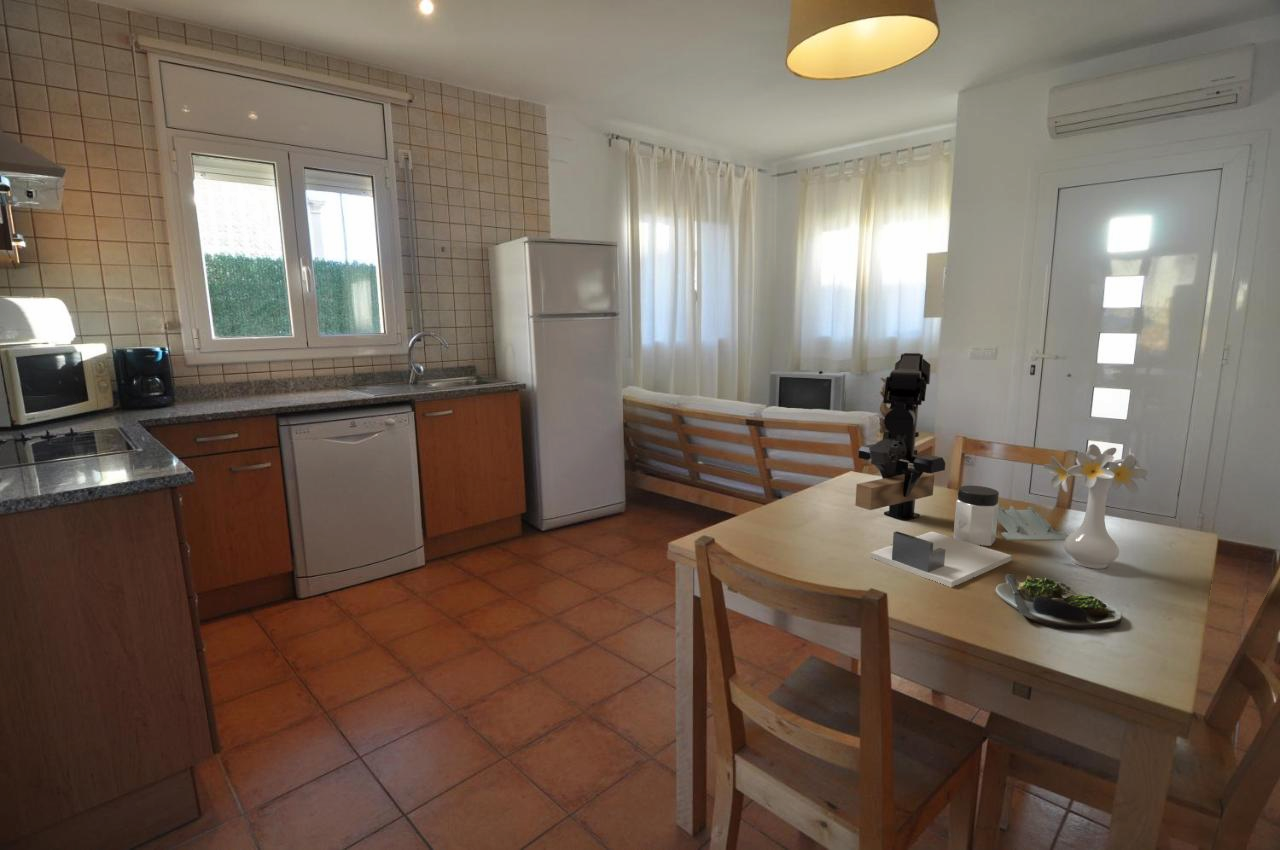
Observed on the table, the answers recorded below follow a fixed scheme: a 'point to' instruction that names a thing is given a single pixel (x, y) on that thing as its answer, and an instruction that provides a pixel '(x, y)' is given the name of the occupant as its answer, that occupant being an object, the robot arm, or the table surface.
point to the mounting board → (951, 559)
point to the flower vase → (1096, 501)
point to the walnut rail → (891, 491)
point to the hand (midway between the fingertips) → (897, 494)
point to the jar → (976, 515)
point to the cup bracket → (916, 552)
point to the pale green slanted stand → (1026, 525)
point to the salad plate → (1058, 604)
